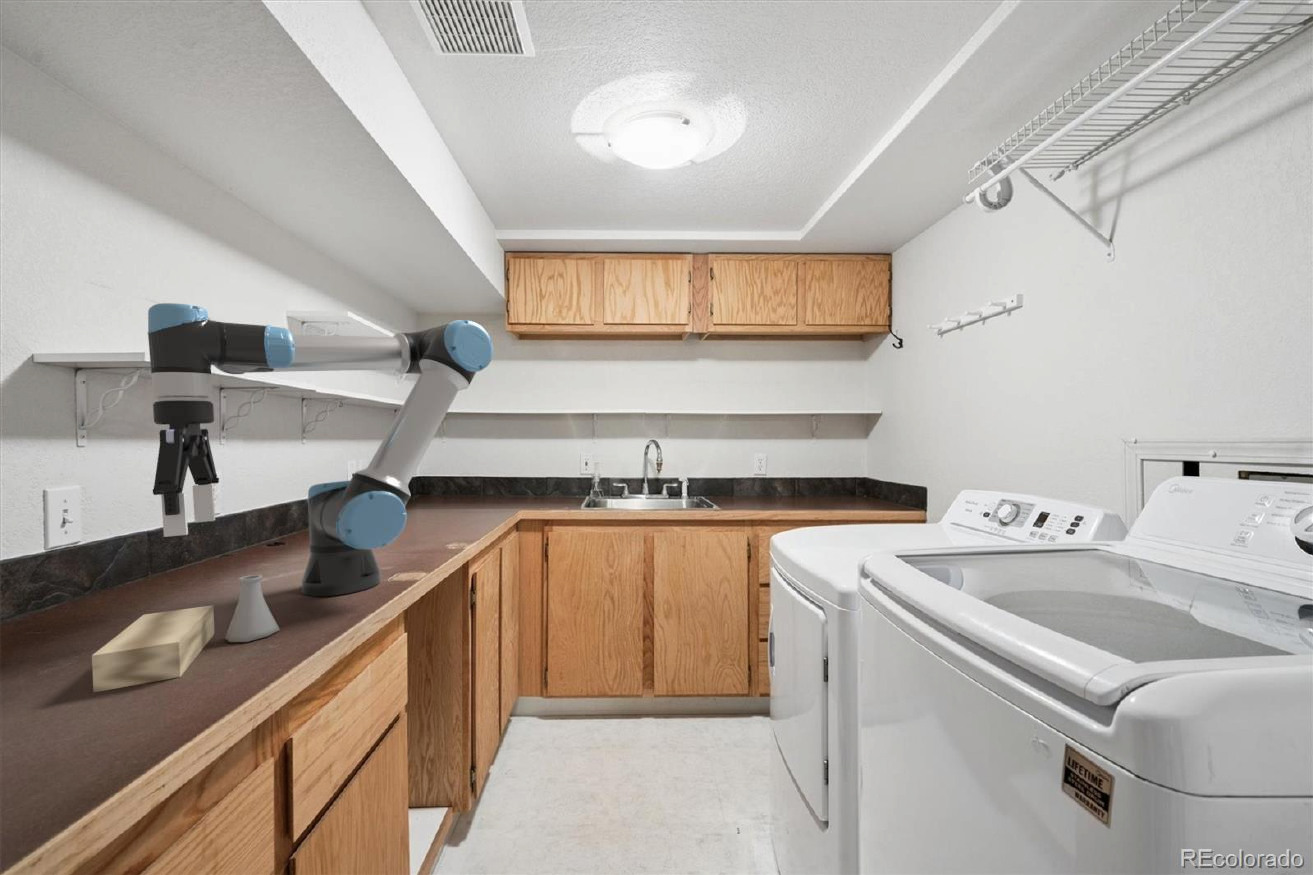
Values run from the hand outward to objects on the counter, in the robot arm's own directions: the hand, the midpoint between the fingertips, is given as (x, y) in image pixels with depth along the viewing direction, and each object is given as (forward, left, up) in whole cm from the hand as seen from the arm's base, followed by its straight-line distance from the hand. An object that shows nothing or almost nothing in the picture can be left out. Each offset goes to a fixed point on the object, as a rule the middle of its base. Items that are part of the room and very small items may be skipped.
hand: (191, 528), depth 90 cm
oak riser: (+2, +8, -19) cm, 20 cm away
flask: (-8, +3, -19) cm, 21 cm away
